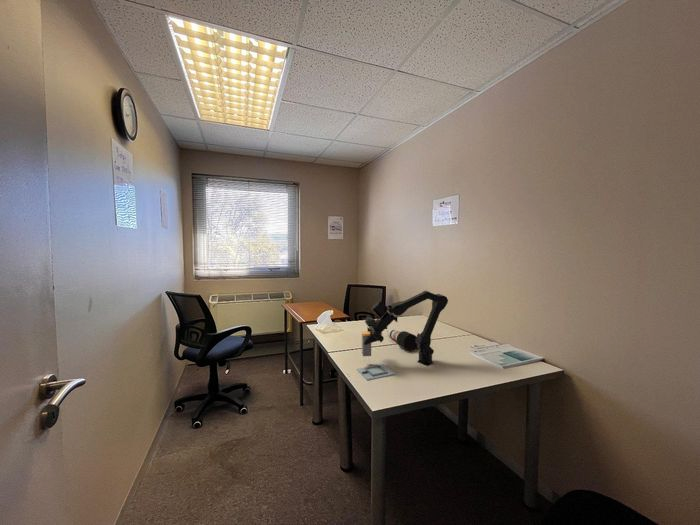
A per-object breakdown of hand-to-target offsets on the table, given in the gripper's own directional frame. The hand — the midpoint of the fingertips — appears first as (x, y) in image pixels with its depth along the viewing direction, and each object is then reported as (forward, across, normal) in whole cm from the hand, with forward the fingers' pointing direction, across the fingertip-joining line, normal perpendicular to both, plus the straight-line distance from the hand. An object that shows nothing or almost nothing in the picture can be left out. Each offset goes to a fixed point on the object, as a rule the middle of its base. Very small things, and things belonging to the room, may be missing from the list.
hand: (364, 342), depth 148 cm
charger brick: (+4, 0, +6) cm, 7 cm away
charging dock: (+5, +9, +12) cm, 16 cm away
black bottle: (-11, -32, +30) cm, 45 cm away
